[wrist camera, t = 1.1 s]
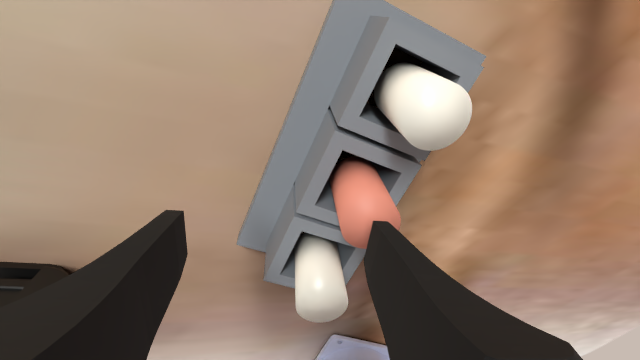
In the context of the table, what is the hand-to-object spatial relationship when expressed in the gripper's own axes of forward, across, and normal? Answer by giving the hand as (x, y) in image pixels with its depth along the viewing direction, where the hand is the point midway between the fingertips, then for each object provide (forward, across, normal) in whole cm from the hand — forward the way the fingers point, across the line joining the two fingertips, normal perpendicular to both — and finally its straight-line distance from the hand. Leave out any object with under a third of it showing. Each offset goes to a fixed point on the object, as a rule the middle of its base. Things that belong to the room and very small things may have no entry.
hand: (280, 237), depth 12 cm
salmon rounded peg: (+6, -4, 0) cm, 8 cm away
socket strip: (+10, -4, 0) cm, 11 cm away
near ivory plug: (+6, -6, -5) cm, 10 cm away
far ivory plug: (+6, -2, +6) cm, 9 cm away
